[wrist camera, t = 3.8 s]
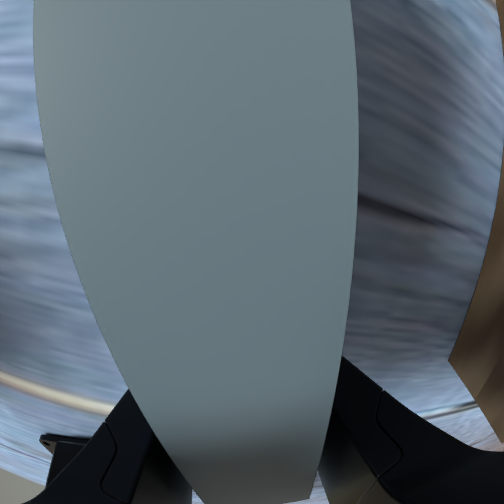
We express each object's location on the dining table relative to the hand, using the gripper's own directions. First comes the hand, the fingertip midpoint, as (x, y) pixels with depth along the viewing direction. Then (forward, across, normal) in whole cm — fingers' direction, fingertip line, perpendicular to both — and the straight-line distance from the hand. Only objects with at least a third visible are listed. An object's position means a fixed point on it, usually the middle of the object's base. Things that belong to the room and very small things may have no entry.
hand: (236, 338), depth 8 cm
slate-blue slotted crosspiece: (+2, 0, -4) cm, 5 cm away
